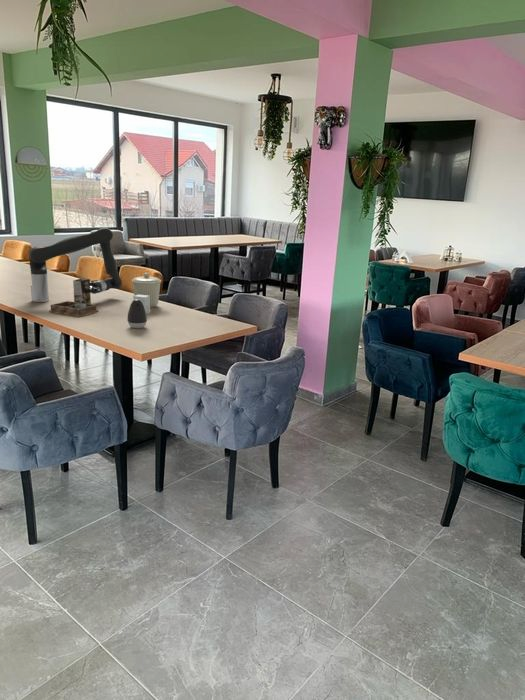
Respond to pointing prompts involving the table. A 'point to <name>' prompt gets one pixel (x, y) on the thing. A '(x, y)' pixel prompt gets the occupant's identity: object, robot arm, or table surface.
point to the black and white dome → (137, 315)
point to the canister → (147, 288)
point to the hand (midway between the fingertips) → (79, 290)
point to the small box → (144, 301)
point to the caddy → (73, 308)
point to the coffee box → (81, 291)
